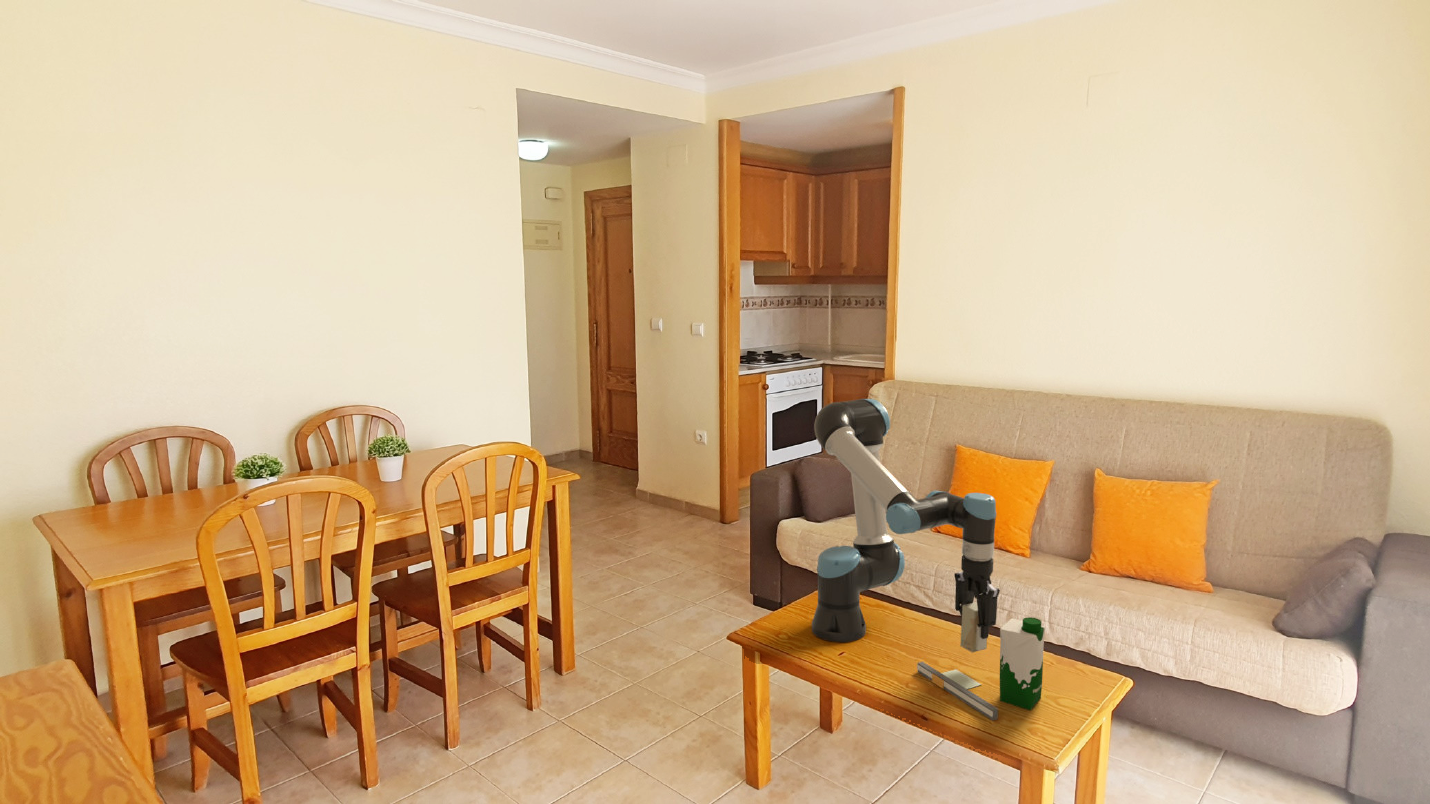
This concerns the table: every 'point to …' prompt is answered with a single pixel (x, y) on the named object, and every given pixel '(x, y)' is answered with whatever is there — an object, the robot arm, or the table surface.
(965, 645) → the box
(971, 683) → the pad
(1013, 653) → the fresh milk carton
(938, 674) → the rail
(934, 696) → the table surface
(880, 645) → the table surface
